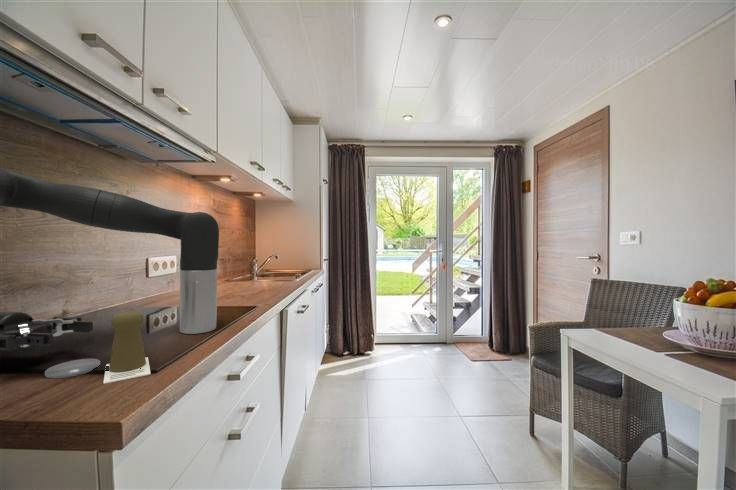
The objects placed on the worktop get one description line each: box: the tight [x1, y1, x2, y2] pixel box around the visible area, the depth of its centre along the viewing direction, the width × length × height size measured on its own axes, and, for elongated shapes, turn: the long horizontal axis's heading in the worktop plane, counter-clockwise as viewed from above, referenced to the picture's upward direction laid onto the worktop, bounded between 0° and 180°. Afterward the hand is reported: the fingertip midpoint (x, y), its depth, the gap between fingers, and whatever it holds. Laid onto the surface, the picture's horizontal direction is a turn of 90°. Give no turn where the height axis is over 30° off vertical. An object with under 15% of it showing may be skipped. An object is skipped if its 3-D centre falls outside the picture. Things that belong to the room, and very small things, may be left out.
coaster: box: [44, 358, 101, 379], centre depth 62 cm, size 8×8×1 cm
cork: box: [109, 310, 146, 373], centre depth 64 cm, size 6×6×11 cm
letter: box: [102, 356, 152, 385], centre depth 63 cm, size 10×7×1 cm
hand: (72, 332), depth 64 cm, fingers open, 8 cm apart
